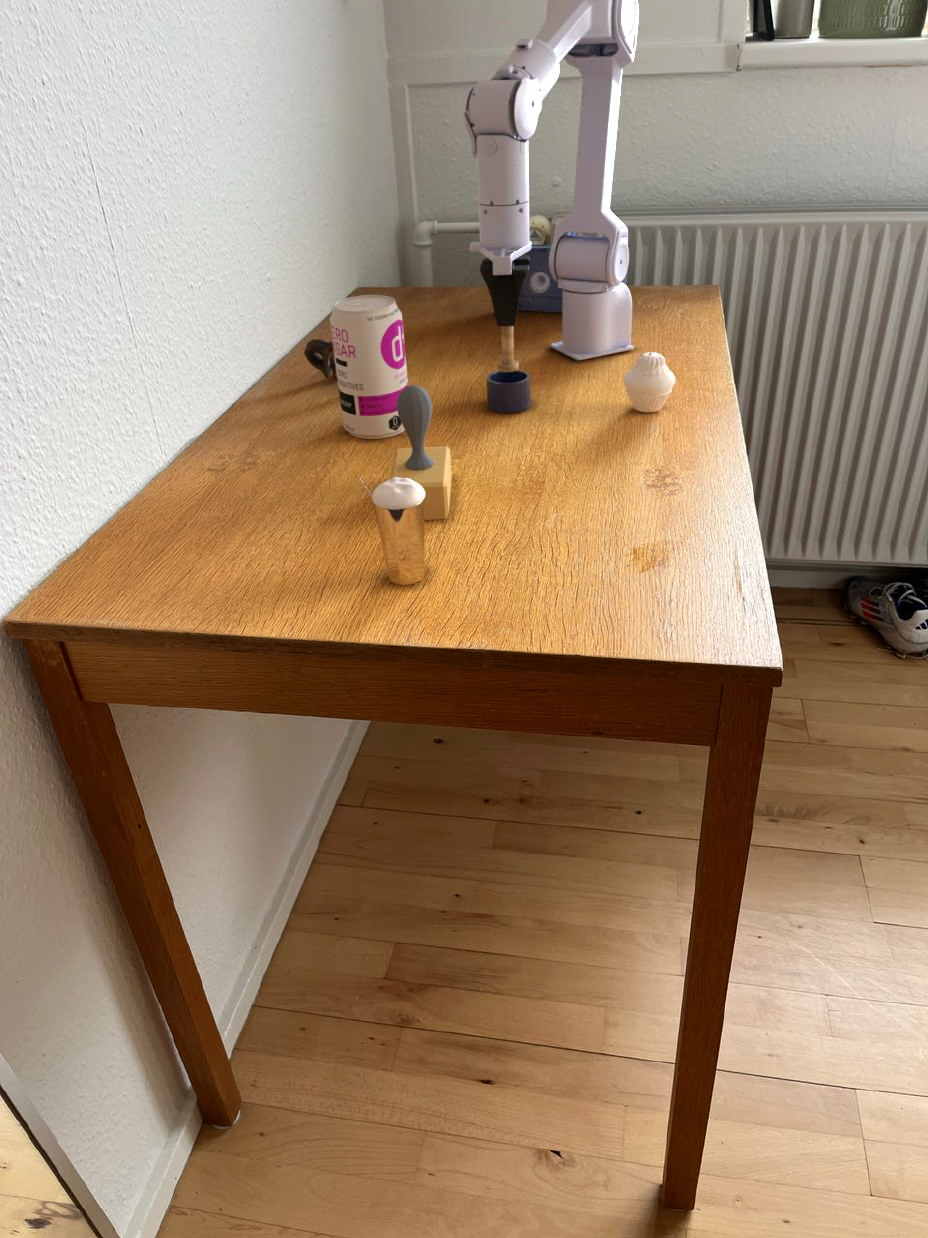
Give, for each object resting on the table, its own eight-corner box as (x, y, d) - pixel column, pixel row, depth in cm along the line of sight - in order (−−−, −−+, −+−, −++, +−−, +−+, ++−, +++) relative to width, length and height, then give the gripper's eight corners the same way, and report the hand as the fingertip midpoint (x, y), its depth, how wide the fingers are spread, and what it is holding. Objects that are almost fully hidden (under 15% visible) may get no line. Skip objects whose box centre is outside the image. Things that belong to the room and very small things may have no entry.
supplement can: (422, 419, 118) (412, 295, 110) (390, 444, 111) (377, 314, 103) (365, 412, 121) (352, 291, 113) (331, 436, 115) (314, 310, 106)
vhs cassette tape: (626, 310, 154) (629, 245, 148) (622, 315, 151) (624, 250, 146) (518, 305, 160) (517, 242, 154) (512, 310, 157) (511, 246, 152)
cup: (518, 395, 123) (517, 366, 121) (538, 408, 119) (538, 378, 117) (480, 403, 121) (479, 374, 119) (499, 416, 117) (498, 386, 115)
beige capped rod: (512, 364, 119) (511, 298, 115) (522, 369, 117) (521, 303, 113) (494, 367, 118) (491, 302, 114) (503, 373, 116) (501, 307, 112)
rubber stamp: (398, 479, 103) (388, 370, 97) (451, 477, 103) (444, 368, 96) (390, 521, 95) (378, 405, 88) (448, 518, 95) (440, 402, 88)
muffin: (679, 402, 118) (684, 346, 114) (664, 419, 114) (667, 362, 110) (632, 396, 121) (634, 341, 117) (614, 413, 116) (616, 356, 112)
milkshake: (371, 566, 87) (360, 465, 82) (430, 561, 87) (422, 460, 82) (372, 592, 83) (359, 488, 78) (433, 587, 84) (424, 482, 78)
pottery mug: (391, 369, 136) (398, 326, 129) (383, 419, 131) (391, 377, 124) (306, 353, 134) (310, 308, 127) (296, 403, 130) (299, 359, 123)
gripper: (473, 191, 114) (478, 307, 121) (462, 214, 102) (469, 341, 109) (532, 189, 113) (533, 305, 120) (529, 212, 101) (530, 340, 108)
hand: (506, 323), depth 115 cm, fingers closed on beige capped rod
